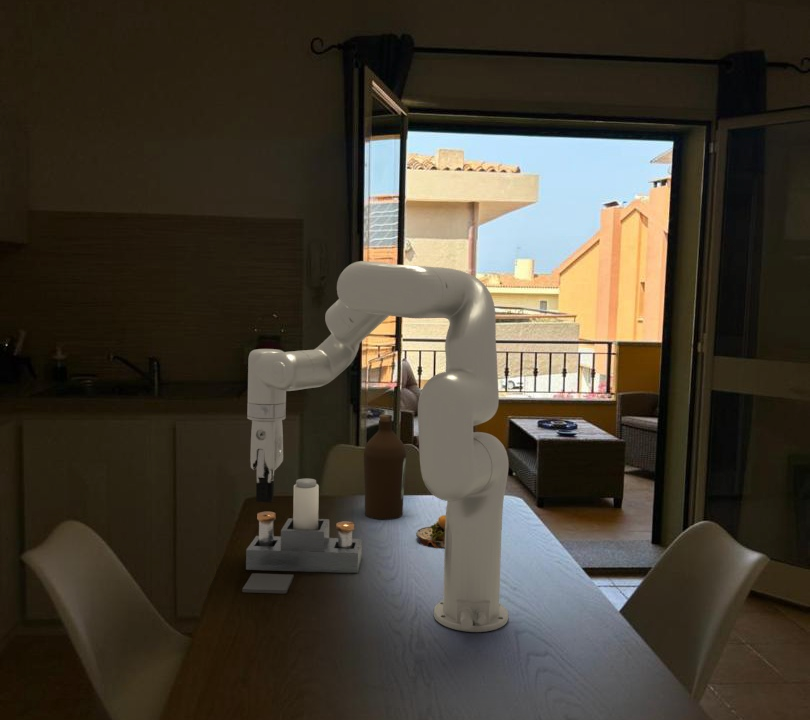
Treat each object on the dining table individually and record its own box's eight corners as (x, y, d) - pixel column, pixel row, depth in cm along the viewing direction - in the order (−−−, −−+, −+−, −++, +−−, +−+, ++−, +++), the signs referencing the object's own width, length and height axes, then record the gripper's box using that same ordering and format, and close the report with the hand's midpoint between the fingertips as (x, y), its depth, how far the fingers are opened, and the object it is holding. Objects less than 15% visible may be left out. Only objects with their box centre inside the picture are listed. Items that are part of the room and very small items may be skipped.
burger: (448, 530, 181) (448, 499, 180) (479, 544, 171) (479, 511, 170) (405, 537, 174) (405, 505, 174) (434, 552, 164) (435, 518, 164)
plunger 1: (273, 555, 153) (273, 516, 153) (255, 555, 153) (255, 516, 153) (276, 550, 157) (276, 511, 156) (259, 549, 157) (259, 511, 156)
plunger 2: (352, 566, 153) (353, 526, 152) (334, 565, 153) (335, 526, 153) (354, 559, 157) (355, 521, 156) (336, 559, 157) (337, 521, 156)
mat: (286, 593, 139) (286, 590, 139) (242, 592, 139) (242, 589, 139) (293, 577, 147) (293, 574, 147) (252, 576, 147) (252, 573, 147)
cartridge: (316, 548, 152) (316, 484, 151) (291, 547, 152) (291, 483, 151) (319, 540, 157) (320, 478, 156) (295, 539, 157) (295, 477, 156)
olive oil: (366, 521, 185) (368, 419, 183) (359, 509, 196) (360, 412, 194) (409, 519, 188) (411, 418, 186) (399, 507, 198) (401, 411, 196)
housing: (361, 557, 159) (362, 519, 159) (357, 573, 150) (358, 533, 150) (256, 554, 160) (256, 516, 159) (246, 569, 151) (246, 529, 150)
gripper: (278, 417, 145) (276, 512, 147) (291, 406, 160) (289, 492, 162) (238, 416, 146) (237, 511, 147) (256, 405, 160) (254, 491, 162)
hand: (264, 501), depth 155 cm, fingers closed
